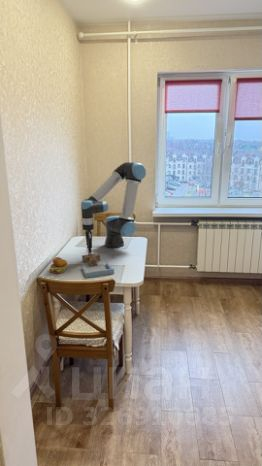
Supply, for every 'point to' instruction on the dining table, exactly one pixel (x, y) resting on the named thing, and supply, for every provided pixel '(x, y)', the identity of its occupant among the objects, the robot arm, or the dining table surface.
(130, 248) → the dining table surface
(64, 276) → the dining table surface
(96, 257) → the t block
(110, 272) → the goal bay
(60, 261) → the cheeseburger
